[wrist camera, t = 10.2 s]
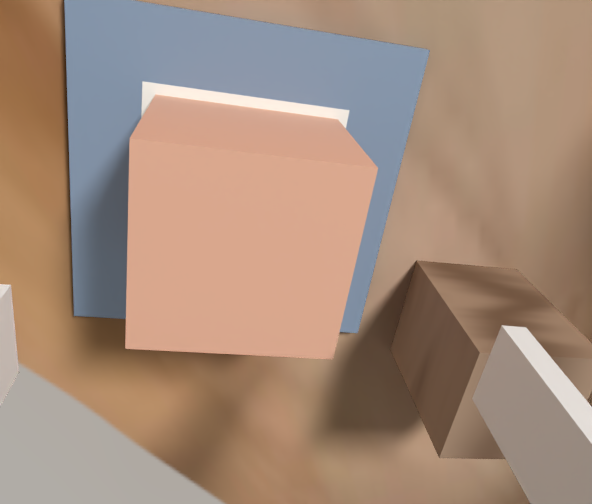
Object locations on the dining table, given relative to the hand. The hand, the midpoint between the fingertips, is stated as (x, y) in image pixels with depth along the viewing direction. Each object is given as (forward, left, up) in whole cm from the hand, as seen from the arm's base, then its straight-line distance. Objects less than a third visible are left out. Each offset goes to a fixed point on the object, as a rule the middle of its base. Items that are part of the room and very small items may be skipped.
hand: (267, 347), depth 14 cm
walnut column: (-13, +6, -13) cm, 19 cm away
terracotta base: (0, 0, -12) cm, 12 cm away
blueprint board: (0, 0, -13) cm, 13 cm away
